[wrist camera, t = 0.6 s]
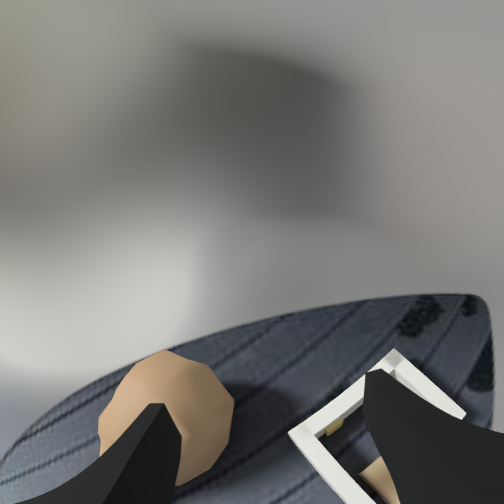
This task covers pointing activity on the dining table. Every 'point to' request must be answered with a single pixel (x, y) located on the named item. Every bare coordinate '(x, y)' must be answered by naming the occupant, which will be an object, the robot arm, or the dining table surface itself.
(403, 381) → the cabinet frame
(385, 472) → the door panel
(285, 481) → the dining table surface
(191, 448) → the squash
